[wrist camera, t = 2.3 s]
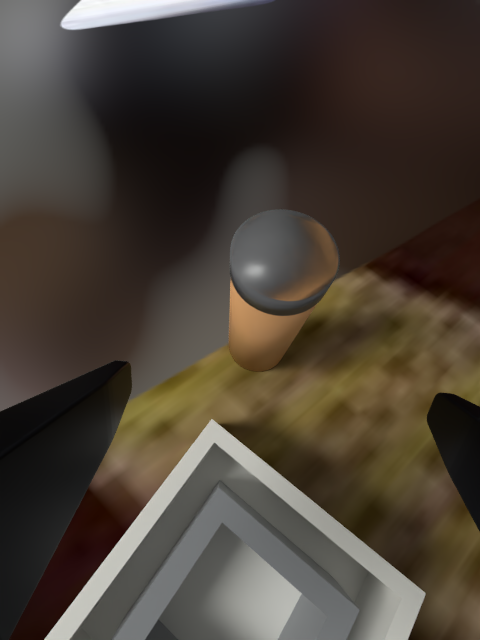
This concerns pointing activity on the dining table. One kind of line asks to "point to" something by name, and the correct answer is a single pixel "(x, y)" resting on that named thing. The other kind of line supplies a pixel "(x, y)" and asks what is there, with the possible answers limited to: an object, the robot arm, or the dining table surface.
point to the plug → (276, 283)
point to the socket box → (239, 564)
